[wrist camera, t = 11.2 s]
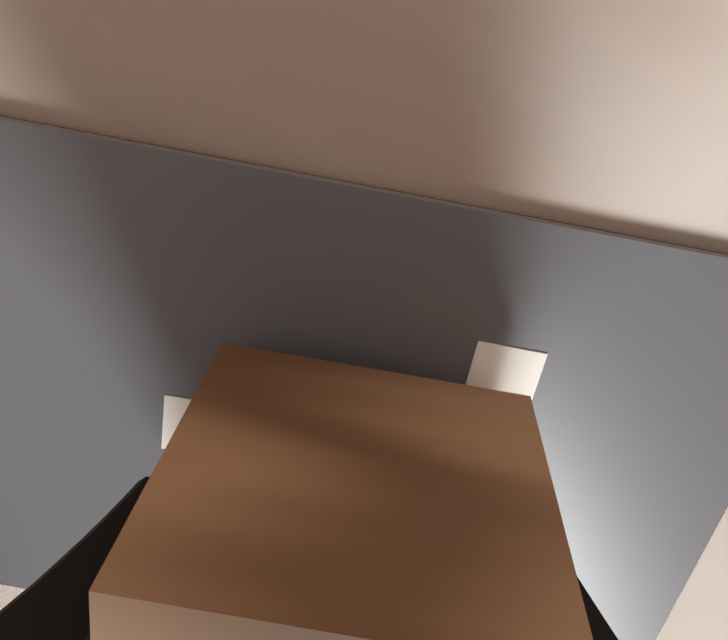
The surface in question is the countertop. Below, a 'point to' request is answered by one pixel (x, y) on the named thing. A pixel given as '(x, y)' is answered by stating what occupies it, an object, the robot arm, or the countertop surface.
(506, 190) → the countertop surface
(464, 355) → the letter card
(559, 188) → the countertop surface
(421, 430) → the walnut cube
